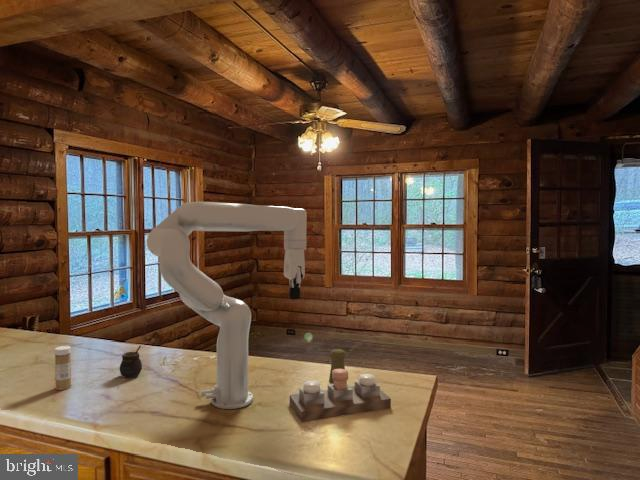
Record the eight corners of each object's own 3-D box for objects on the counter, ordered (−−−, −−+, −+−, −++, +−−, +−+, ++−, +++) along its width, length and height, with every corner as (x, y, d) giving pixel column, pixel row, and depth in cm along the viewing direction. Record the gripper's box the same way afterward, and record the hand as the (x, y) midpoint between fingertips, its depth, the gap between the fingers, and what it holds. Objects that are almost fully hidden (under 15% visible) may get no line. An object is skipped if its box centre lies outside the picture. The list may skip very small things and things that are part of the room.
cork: (345, 385, 146) (345, 353, 145) (327, 383, 147) (327, 351, 146) (347, 378, 152) (347, 347, 151) (330, 377, 153) (331, 346, 152)
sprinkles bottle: (72, 384, 143) (71, 344, 143) (69, 389, 139) (69, 348, 138) (56, 386, 142) (56, 346, 141) (53, 391, 137) (52, 350, 137)
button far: (363, 396, 129) (363, 380, 129) (356, 390, 133) (356, 374, 133) (377, 394, 131) (377, 378, 130) (370, 388, 135) (370, 373, 135)
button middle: (335, 391, 126) (335, 375, 125) (329, 385, 130) (329, 369, 130) (350, 389, 127) (350, 373, 127) (344, 383, 132) (344, 368, 132)
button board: (301, 422, 119) (301, 401, 118) (289, 404, 130) (289, 385, 130) (390, 408, 128) (391, 388, 128) (372, 392, 139) (372, 374, 139)
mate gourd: (114, 377, 150) (114, 349, 149) (131, 370, 157) (131, 343, 156) (130, 381, 147) (130, 352, 146) (146, 373, 154) (146, 346, 153)
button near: (306, 404, 123) (306, 387, 123) (301, 397, 127) (301, 381, 127) (322, 402, 124) (322, 385, 124) (316, 395, 129) (316, 379, 129)
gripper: (278, 243, 150) (278, 295, 151) (290, 246, 136) (289, 303, 137) (299, 243, 153) (298, 294, 154) (312, 246, 139) (312, 302, 140)
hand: (294, 298), depth 146 cm, fingers closed
